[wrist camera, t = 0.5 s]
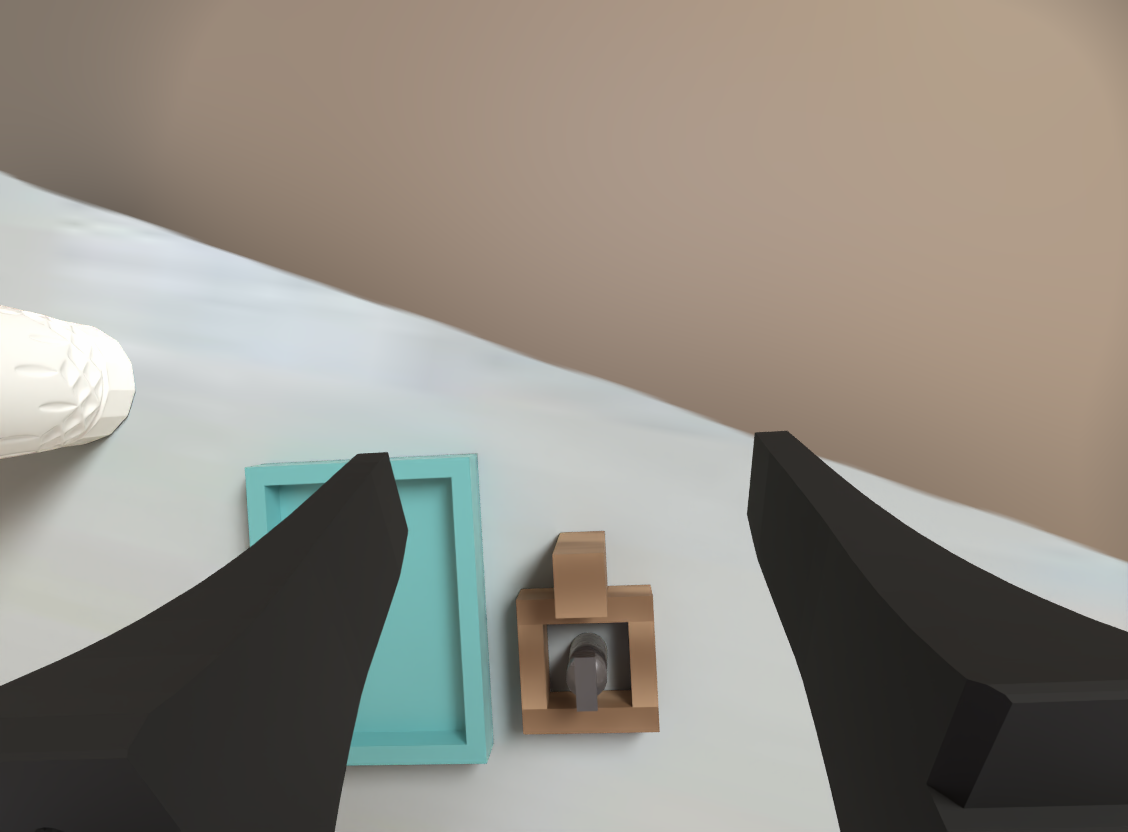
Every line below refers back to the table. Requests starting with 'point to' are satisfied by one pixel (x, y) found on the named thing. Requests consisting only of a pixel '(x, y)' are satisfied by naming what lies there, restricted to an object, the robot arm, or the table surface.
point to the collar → (586, 602)
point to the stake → (587, 670)
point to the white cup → (58, 383)
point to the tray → (414, 612)
